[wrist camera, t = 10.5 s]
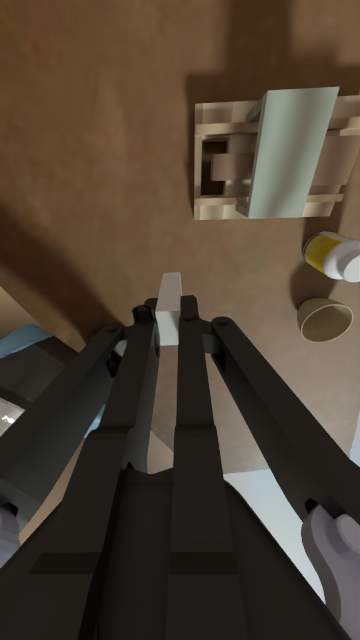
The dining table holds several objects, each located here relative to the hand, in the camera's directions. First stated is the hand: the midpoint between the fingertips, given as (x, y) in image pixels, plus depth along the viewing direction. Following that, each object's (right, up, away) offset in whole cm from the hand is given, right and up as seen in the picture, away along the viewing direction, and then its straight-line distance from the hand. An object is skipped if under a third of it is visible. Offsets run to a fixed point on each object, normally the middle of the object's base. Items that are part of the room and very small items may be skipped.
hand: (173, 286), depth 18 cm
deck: (+14, +22, +14) cm, 30 cm away
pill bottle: (+28, +12, +21) cm, 37 cm away
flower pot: (+32, 0, +29) cm, 43 cm away
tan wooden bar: (+14, +20, +12) cm, 28 cm away
